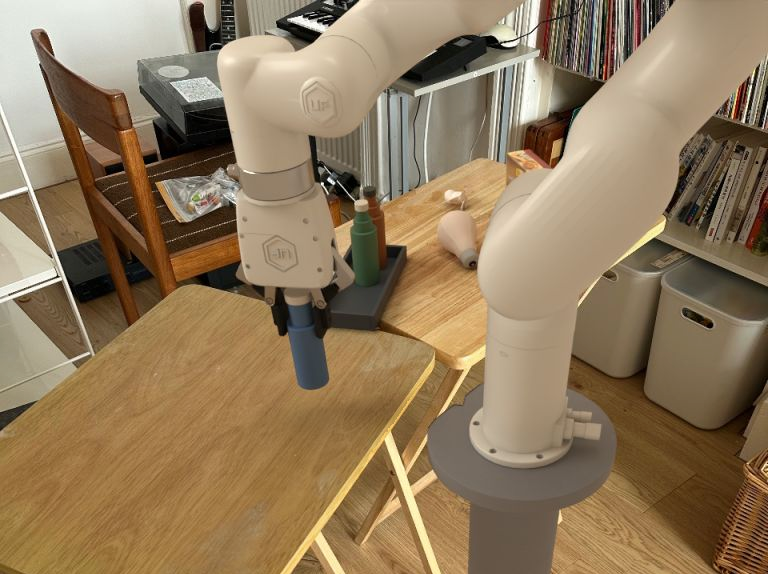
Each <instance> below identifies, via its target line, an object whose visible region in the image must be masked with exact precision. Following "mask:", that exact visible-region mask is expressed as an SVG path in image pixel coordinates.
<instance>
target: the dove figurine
mask: <svg viewBox="0 0 768 574" xmlns="http://www.w3.org/2000/svg"><path fill="white" fill-rule="evenodd" d="M469 188H470V186H467V187H465V188H464V189H463V190H462V191H456V190H454V189H448V190H446V191H445V192H444V195H443V196H444V200H445V201H444V202H443V204H445V203H448V204H449V205H459V204H461V206H460V209H459V210H460V211H464V208H465V209H466V208H468V206H469V200H470V197H467V195H466V192H467V191H468V189H469ZM465 200H466V201H465ZM464 204H465V206H464Z"/></svg>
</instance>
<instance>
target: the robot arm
mask: <svg viewBox="0 0 768 574" xmlns="http://www.w3.org/2000/svg"><path fill="white" fill-rule="evenodd" d="M525 2H527V0H358V1H357V2H356V3H355V4H354V5H353V6H352V7H351V8H349V9H348V10H347V11H346V12H344V14H342V15H341V17H339V18H338V19H337V20H336V21H334V22H333V23H332V24H331V25H329V27H328V28H327V29H326V30H325V31H323V32H322V33H321V34H320V36H319V37H318V38H317V39H315V40H314V42H312V43H310V44H309V45H307V46H306V47H303V48H301V49H299V50H296V49H295V48H294V46H293V44H291V42H290V41H289V40H288V39H286V38H285V37H282V36H277V35H273V34H272V35H271V34H256V35H249V36H244V37H241V38H237V39H235V40H232V41H230V42H228V43H226V44H225V45H223V46H222V48H221V49H220V50H219V52H218V54H217V60H216V68H217V75H218V80H219V84H220V88H221V93H222V98H223V103H224V108H225V112H226V118H227V121H228V127H229V131H230V135H231V140H232V146H233V150H234V155H235V160H236V162H235V163H234V164H233V163H232V164H231V163H229V164H228V165H227V168H226V173H227V176H228V178H229V179H235V180H238V182H239V187H240V190H238V192H237V193H236V195H235V214H236V229H237V239H238V246H239V253H240V260H241V261H240V263H239V265H238V268H237V270H236V272H235V276H236V279H238V280H240V281H242V282H243V283H245V284H246V285H248V287H249V286H250V287H251V288H252V290H253V291H255V292H256V293H257V294H258V295H260V296H261V297H262V298H263V299H264V302H265V304H266V305H267V306H269V307H270V311H271V315H272V321H273V324H274V326H276V328H277V332H278V333H277V334H278V336H279V337H285V336H286V335H288V331H287V326H286V322H287V320H288V319H289V318H290V314H289V309H288V304H287V303H286V301H285V297H284V291H283V288H285V289H286V288H305V289H310V291H311V293H312V296H313V297H312V300H313V302H314V305H313V309H312V314H313V320H314V326H315V332H316V337H318V339H323V340H324V338H325V336H326V334H327V332H328V330H330V329H331V328H332V327H331V326H332V315H331V308H330V301H331V300H332V299H333V297H334V296H335V295H336V294H337V293H338V292H339V291H341V290H343V289H345V288H346V287H348V286H350V285H351V284H352V283H353V281H354V279H355V277H356V276H355V273H354V272H353V271H352V270H351V268H350V267H349V266H348V264H347V263H346V262H345V261H344V259H343V257H342V255H341V254H340V252H339V245H338V240H337V235H336V230H335V225H334V221H333V217H332V214H331V213H332V212H331V210H330V207H329V203H328V201H327V197H326V195H325V192H324V189H323V187H322V184H321V183H320V182H317V181H316V179H315V171H314V165H313V158H312V152H311V151H312V150H311V145H310V144H311V143H310V138H309V136H312V137H317V138H323V139H336V138H342V137H345V136H348V135H349V134H351V133H353V132H354V131H356V129H357V128H358V127H359V126H360V125H362V122H363V121H364V120H365V118H366V116H367V115H368V114H369V112H370V111H371V109H372V108H373V107H374V105H375V103H376V102H377V100H378V99H379V98H380V97H381V95H382V94H383V92H384V91H386V90H387V88H389V87H390V86H391V85H392V84H393V83H395V81H397V80H398V79H399V78H401V77H402V76H403V75H405V74H406V73H407V72H408V71H409V70H411V69H412V68H413V67H415V66H416V65H417V64H419V63H420V62H421V61H422V60H424V59H425V58H426V57H428V56H429V55H430V54H432V53H433V52H434V51H436V50H437V49H439V48H440V47H442V46H443V45H445V44H446V43H448V42H450V41H452V40H454V39H456V38H458V37H461V36H468V35H469V36H471V35H478V34H481V33H483V32H485V31H488V30H489V29H491V28H493V27H494V26H495V25H497V24H498V23H500V22H501V21H502V20H504V18H506V17H507V16H508V15H511V13H513V12H514V11H515V10H517V9H518V8H519V7H520V6H522V5H523V4H524V3H525ZM767 55H768V0H674V2H673V3H672V4H671V6H670V7H669V9H668V10H667V11H666V12H665V14H664V15H663V16H662V17H661V18H660V19H659V21H658V22H657V23H656V25H655V26H654V27H653V29H652V30H651V31H650V32H649V33H648V35H647V36H646V38H644V40H642V42H641V43H640V44H639V46H637V48H635V50H634V51H633V52H632V53H631V54H630V55H629V57H627V59H626V60H625V61H624V62H623V63H622V64H621V65H620V67H618V69H617V70H616V71H615V72H614V73H613V74H612V76H610V77H609V79H608V80H606V82H605V83H604V84H603V85H602V86H601V87H600V88H599V89H598V91H596V93H595V94H594V95H592V97H591V98H590V99H589V100H588V101H586V102H585V104H584V105H583V106H582V107H581V109H580V110H579V112H578V113H577V114H576V116H575V117H574V119H573V121H572V123H571V126H570V129H569V132H568V135H567V138H566V142H565V146H564V150H563V151H564V152H563V156H562V157H561V159H560V160H559V161H558V163H556V165H555V166H554V168H553V169H548V168H541V169H534V170H531V171H528V172H525V173H523V174H521V175H520V176H518V177H517V178H515V179H514V180H513V181H512V182H511V183H510V184H509V185H508V186H507V187H506V188H505V187H504V189H503V191H502V192H501V193H500V194H499V197H498V198H497V200H496V203H495V204H494V207H493V210H492V212H491V215H490V219H489V222H488V225H487V228H486V231H485V235H484V238H483V241H482V243H481V248H480V251H479V254H478V256H479V260H478V264H477V266H476V267H477V270H476V273H477V275H476V276H477V283H478V287H479V290H480V293H481V295H482V298H483V299H484V300H485V302H486V304H487V307H486V325H485V326H486V327H485V328H486V329H485V349H484V350H485V352H484V375H483V377H484V378H483V381H484V382H483V383H484V397H483V407H482V408H481V409H480V410H478V411H477V412H476V414H475V415H474V416H473V418H472V420H471V422H470V427H469V437H470V441H471V443H472V445H473V447H474V448H475V449H476V451H477V452H478V453H479V454H480V455H482V456H483V457H485V458H486V459H488V460H490V461H492V462H494V463H496V464H499V465H502V466H506V467H511V468H523V469H526V468H536V467H541V466H545V465H548V464H551V463H553V462H555V461H557V460H559V459H560V458H562V457H563V456H564V455H565V454H566V453H567V452H568V450H569V449H570V447H571V445H572V442H573V437H580V438H584V439H591V440H599V439H600V433H601V424H595V423H591V417H592V412H584V411H581V412H578V411H572V408H567V403H568V397H567V396H566V389H567V388H568V380H569V375H570V374H569V373H570V367H571V358H572V352H573V345H574V335H575V331H576V323H577V316H578V308H579V302H580V296H581V295H582V294H583V293H584V292H585V291H586V290H587V289H589V287H591V286H592V285H593V284H594V283H595V282H596V281H597V280H598V279H599V278H601V277H602V276H603V275H604V274H605V273H606V272H607V271H608V270H609V269H611V267H613V266H614V264H616V263H617V262H618V261H619V260H620V259H621V258H622V257H623V256H624V255H625V254H627V253H628V252H629V251H630V250H631V249H632V248H633V247H634V246H635V245H636V244H637V243H638V242H640V240H642V238H644V237H645V235H646V234H648V233H649V231H650V230H651V229H652V228H653V227H654V226H655V224H657V222H658V221H659V220H660V218H661V217H662V215H663V214H664V212H665V211H666V209H667V208H668V206H669V204H670V202H671V201H672V198H673V196H674V193H675V191H676V188H677V184H678V180H679V174H680V154H681V152H682V150H683V149H684V148H685V146H686V145H687V144H688V142H689V141H690V140H691V139H692V138H693V137H694V136H695V135H696V133H697V132H698V131H699V130H701V128H702V127H703V126H704V125H705V124H706V123H707V122H708V121H709V120H710V119H711V118H712V117H713V116H714V115H715V114H716V113H717V112H718V110H719V109H720V108H722V106H723V105H724V104H725V103H726V102H727V101H728V99H729V98H731V96H732V95H733V94H734V93H735V92H736V91H737V90H738V89H739V88H740V86H741V85H742V84H743V83H744V82H745V81H746V80H747V79H748V78H749V77H750V76H751V75H752V73H753V72H754V71H755V70H756V69H757V68H758V67H759V65H760V64H761V63H762V61H763V60H764V59H765V58H766V56H767ZM334 273H335V274H336V275H337V276H338V277H337V278H334V279H333V280H332V277H333V275H334ZM331 280H332V281H331ZM574 421H575V422H574ZM578 422H580V423H578Z"/></svg>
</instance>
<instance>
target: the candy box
mask: <svg viewBox="0 0 768 574" xmlns="http://www.w3.org/2000/svg"><path fill="white" fill-rule="evenodd" d="M541 168H548V169H554V168H553V167H551V165H549V164H548V163H547V162H545V160H543V159H541V158H540V157H539V156H538V155H537V154H536V153H535V152H533V150H531V149H521V150H516V151H510V152H507V153H506V163H505V179H504V189H505V188H506V187H507V186H508V185H509V184H510V183H511V182H512V181H513V180H514V179H515V178H517V177H518V176H520V175H521V174H523V173H525V172H528V171H531V170H534V169H541Z"/></svg>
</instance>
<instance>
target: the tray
mask: <svg viewBox="0 0 768 574" xmlns="http://www.w3.org/2000/svg"><path fill="white" fill-rule="evenodd" d="M386 253H387V266H386V267H385V268H384V269H382V270H379V272H380V281H379V282H378V283H377V284H375V285H373V286H360V285H357V284H356V283H355V280H354V281H353V283H352V284H351V285H350V286H348V287H346V288H345V289H343V290H341V291H339V292H338V293H337V294H336V295H335V296H334V297H333V299H332V300H331V301H330V308H331V315H332V326H331V328H340V329H349V330H350V329H351V330H360V331H372V332H375V331H376V330H377V328H378V326H379V324H380V321H381V319H382V317H383V314H384V313H385V310H386V308H387V306H388V303H389V301H390V299H391V297H392V294H393V292H394V291H395V289H396V288H395V287H396V286H397V283H398V281H399V280H400V276H401V275H402V273H403V270H404V267H405V265H406V263H407V261H408V249H407V245H402V244H387V243H386ZM342 258H343V259H344V261H345V262H346V263H347V264H348V266H349V267H350V268H351V270H352V271H353V272H354V269H353V258H352V247H351V244H350V245H349V246H348V248H347V250H346V252H345V254H344V255H343V257H342ZM337 277H338V276H337V275H336V274H335V272H333V277H332V280H333V279H334V278H337ZM332 280H331V281H332Z"/></svg>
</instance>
